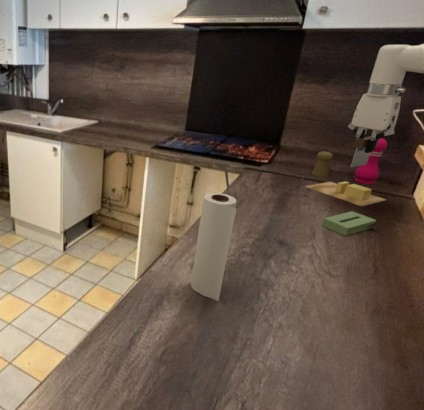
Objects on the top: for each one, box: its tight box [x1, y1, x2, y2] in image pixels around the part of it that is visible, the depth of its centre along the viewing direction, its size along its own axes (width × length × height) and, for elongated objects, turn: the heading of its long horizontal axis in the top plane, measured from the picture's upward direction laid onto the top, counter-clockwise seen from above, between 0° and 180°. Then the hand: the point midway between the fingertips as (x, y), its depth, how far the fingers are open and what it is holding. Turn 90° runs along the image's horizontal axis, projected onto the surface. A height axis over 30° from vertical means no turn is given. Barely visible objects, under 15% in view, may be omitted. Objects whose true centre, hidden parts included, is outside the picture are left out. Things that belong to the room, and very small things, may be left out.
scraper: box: [350, 135, 379, 168], centre depth 113 cm, size 2×9×9 cm, turn 115°
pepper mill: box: [354, 137, 388, 185], centre depth 136 cm, size 7×7×20 cm
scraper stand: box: [321, 210, 377, 237], centre depth 105 cm, size 7×13×2 cm, turn 114°
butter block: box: [344, 183, 373, 201], centre depth 123 cm, size 6×4×4 cm, turn 24°
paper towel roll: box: [190, 192, 238, 302], centre depth 74 cm, size 7×6×21 cm
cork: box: [310, 151, 333, 178], centre depth 144 cm, size 6×6×11 cm
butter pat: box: [336, 180, 350, 193], centre depth 128 cm, size 2×4×4 cm, turn 114°
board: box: [305, 181, 387, 207], centre depth 128 cm, size 20×14×2 cm
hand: (363, 150), depth 113 cm, fingers closed on scraper, 2 cm apart
